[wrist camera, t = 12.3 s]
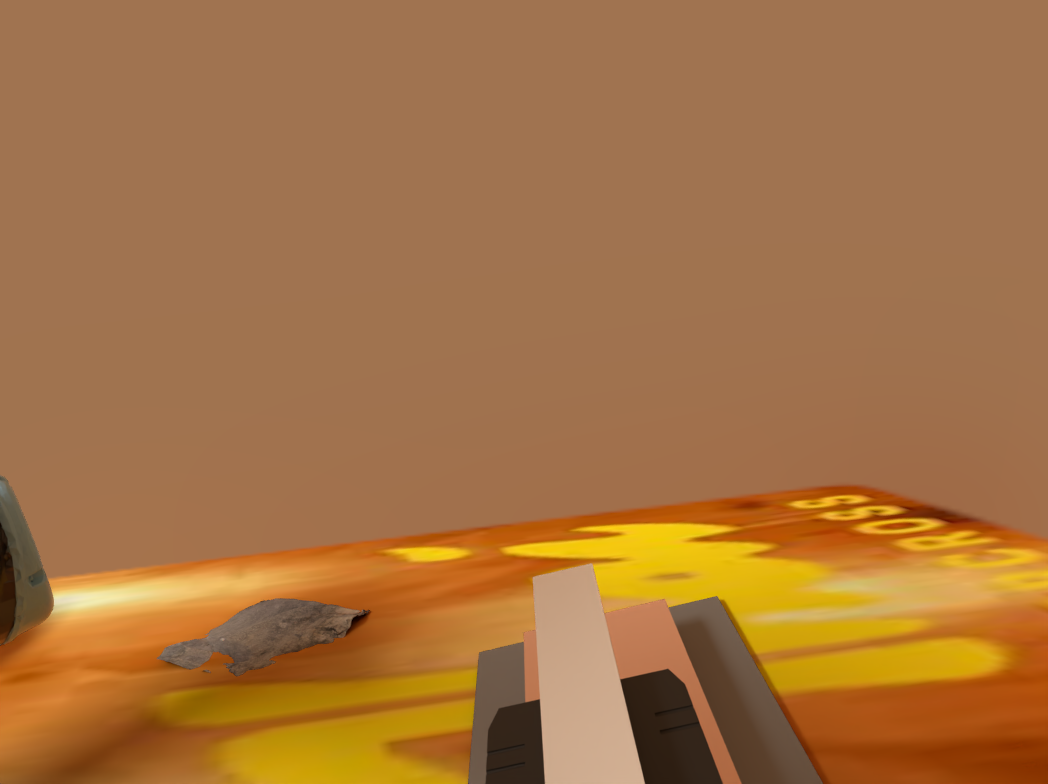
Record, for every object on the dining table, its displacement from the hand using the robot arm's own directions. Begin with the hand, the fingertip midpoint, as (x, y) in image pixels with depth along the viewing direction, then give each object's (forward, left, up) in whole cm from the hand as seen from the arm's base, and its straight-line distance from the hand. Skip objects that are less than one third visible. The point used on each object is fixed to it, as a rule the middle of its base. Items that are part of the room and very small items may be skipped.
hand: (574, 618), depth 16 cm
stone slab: (+5, +48, -20) cm, 53 cm away
